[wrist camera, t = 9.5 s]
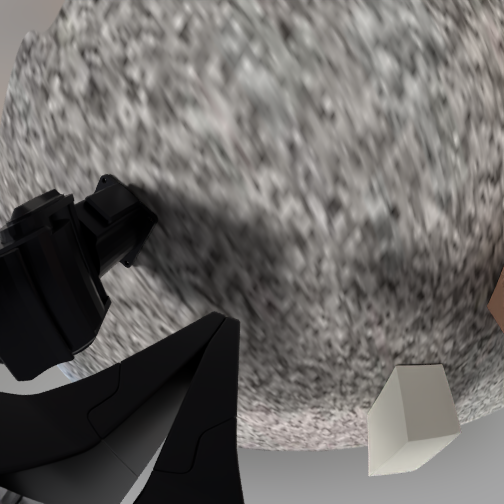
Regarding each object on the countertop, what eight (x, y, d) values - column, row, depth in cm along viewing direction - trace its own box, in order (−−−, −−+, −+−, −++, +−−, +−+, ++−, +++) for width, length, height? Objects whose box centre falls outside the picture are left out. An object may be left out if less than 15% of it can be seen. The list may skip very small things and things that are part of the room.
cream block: (367, 414, 28) (368, 476, 20) (395, 365, 23) (408, 441, 15) (407, 412, 27) (414, 470, 19) (442, 364, 22) (461, 432, 14)
